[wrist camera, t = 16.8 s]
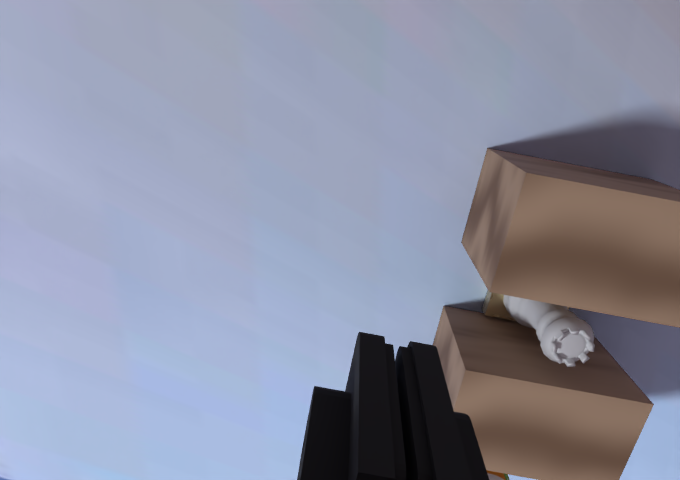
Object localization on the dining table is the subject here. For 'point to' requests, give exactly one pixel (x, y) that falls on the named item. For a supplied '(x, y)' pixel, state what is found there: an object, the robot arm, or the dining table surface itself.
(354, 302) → the dining table surface
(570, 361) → the rook chess piece
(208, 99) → the dining table surface
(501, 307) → the gold metallic block
